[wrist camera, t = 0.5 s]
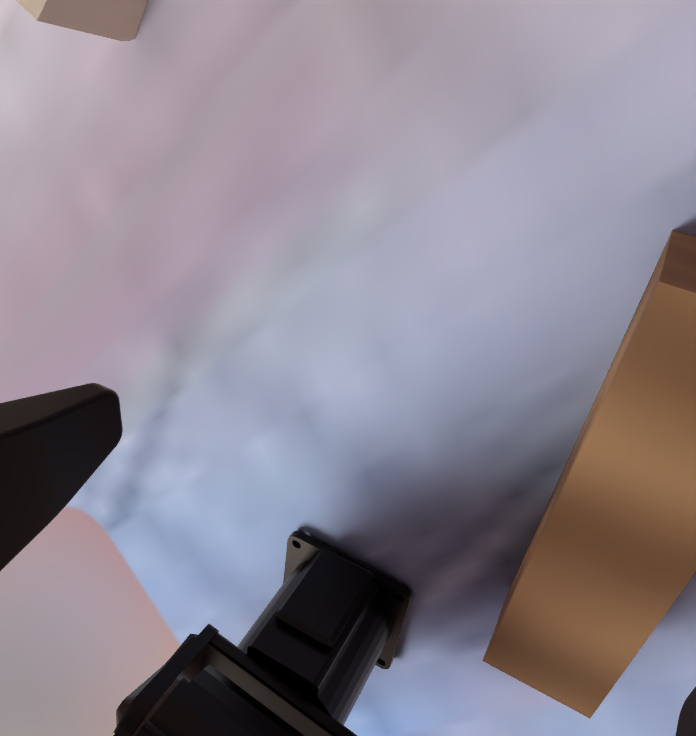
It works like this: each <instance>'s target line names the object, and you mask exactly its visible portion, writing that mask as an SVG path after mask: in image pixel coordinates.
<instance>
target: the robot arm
mask: <svg viewBox="0 0 696 736" xmlns="http://www.w3.org/2000/svg"><path fill="white" fill-rule="evenodd" d="M121 436H122V420H121V411H120V402H119V397H118V395H117V393H116V392H115V391H113V390H111V389H109V388H107V387H104V386H102V385H100V384H96V383H90V384H85V385H81V386H76V387H72V388H67V389H63V390H58V391H54V392H49V393H45V394H40V395H36V396H31V397H26V398H22V399H17V400H13V401H8V402H4V403H0V571H1V570H2V569H3V568H4V567H5V566H6V565H7V564H8V563H9V562H10V561H11V560H12V559H13V558H14V557H15V556H16V555H17V554H18V553H19V552H20V551H21V550H22V549H23V548H24V547H25V546H27V544H29V543H30V541H32V540H33V539H34V538H35V537H36V536H37V535H38V534H39V533H40V532H41V531H42V530H43V529H44V528H45V527H46V526H47V525H48V524H49V523H50V522H51V521H52V520H53V519H54V518H55V517H56V516H57V515H58V514H59V513H60V511H61V510H62V509H63V508H64V507H65V506H66V505H67V504H68V502H69V501H70V500H71V499H72V498H73V496H74V495H75V494H76V493H77V492H78V491H79V489H80V488H81V487H82V486H83V485H84V483H85V482H86V481H87V480H88V479H89V478H90V476H91V475H92V474H93V473H94V472H95V470H96V469H97V468H98V467H99V466H100V465H101V463H102V462H103V461H104V460H105V459H106V457H107V456H108V455H109V454H110V453H111V452H112V450H113V449H114V448H115V447H116V446H117V444H118V443H119V441H120V439H121ZM411 599H412V592H411V590H410V589H409V588H408V587H407V586H405V585H404V584H402V583H400V582H398V581H396V580H394V579H392V578H390V577H388V576H386V575H384V574H382V573H380V572H378V571H376V570H374V569H372V568H370V567H368V566H367V565H365V564H363V563H361V562H359V561H357V560H355V559H353V558H351V557H349V556H347V555H345V554H343V553H341V552H339V551H337V550H335V549H333V548H331V547H329V546H327V545H326V544H324V543H322V542H320V541H318V540H316V539H314V538H312V537H310V536H308V535H306V534H304V533H302V532H300V531H294V532H293V533H292V534H291V535H290V537H289V538H288V542H287V552H286V562H285V572H284V582H283V585H282V586H281V588H280V589H279V590H278V592H277V593H276V595H275V596H274V597H273V599H272V600H271V601H270V603H269V604H268V605H267V607H266V608H265V610H264V611H263V612H262V614H261V615H260V616H259V618H258V619H257V620H256V622H255V623H254V624H253V626H252V627H251V629H250V630H249V631H248V633H247V634H246V635H245V637H244V638H243V639H242V641H241V642H240V644H239V645H238V646H237V647H236V646H235V645H234V644H232V643H231V642H230V641H228V640H227V639H226V638H224V637H223V636H222V635H220V634H219V633H218V632H219V630H217V629H216V628H214V627H213V626H212V625H210V624H208V625H207V626H206V627H205V628H204V629H203V630H202V632H201V633H200V634H199V635H196V634H190V635H189V636H188V637H187V639H186V640H185V641H184V642H183V644H182V645H181V646H180V647H179V648H178V650H177V651H176V652H175V653H174V655H173V656H172V657H171V658H170V659H169V660H168V661H167V662H166V663H165V665H164V666H162V667H161V668H160V669H159V670H158V671H157V672H155V673H154V674H153V675H152V676H151V677H150V678H148V679H147V680H146V681H145V682H144V683H143V684H142V685H140V686H139V687H138V688H137V689H136V690H135V691H133V692H132V693H131V694H130V695H129V696H127V697H126V698H125V699H124V700H123V701H122V703H121V704H120V705H119V707H118V709H117V711H116V718H117V719H116V720H117V727H116V729H115V731H114V732H113V735H112V736H357V735H356V734H354V733H353V732H352V731H350V730H349V729H348V728H346V727H345V726H344V723H345V722H346V720H347V718H348V716H349V714H350V712H351V710H352V708H353V706H354V704H355V702H356V700H357V698H358V697H359V695H360V693H361V691H362V689H363V687H364V685H365V683H366V681H367V679H368V677H369V675H370V673H371V672H372V670H373V668H374V666H375V665H377V666H379V667H381V668H383V669H389V667H390V666H391V664H392V662H393V659H394V656H395V652H396V649H397V646H398V642H399V639H400V636H401V633H402V629H403V626H404V623H405V619H406V616H407V613H408V609H409V606H410V603H411ZM676 736H696V687H695V688H694V689H693V691H692V692H691V693H690V695H689V696H688V697H687V699H686V700H685V702H684V704H683V707H682V709H681V712H680V716H679V720H678V726H677V731H676Z"/></svg>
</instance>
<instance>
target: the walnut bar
mask: <svg viewBox="0 0 696 736" xmlns="http://www.w3.org/2000/svg"><path fill="white" fill-rule="evenodd" d="M695 572H696V237H695V236H691V235H688V234H684V233H681V232H677V231H674V230H672V232H671V234H670V237H669V239H668V241H667V243H666V245H665V248H664V250H663V252H662V254H661V256H660V259H659V261H658V263H657V265H656V267H655V270H654V272H653V274H652V276H651V278H650V281H649V283H648V285H647V287H646V289H645V292H644V294H643V296H642V298H641V300H640V303H639V305H638V307H637V309H636V311H635V314H634V316H633V318H632V320H631V323H630V325H629V327H628V329H627V331H626V334H625V336H624V338H623V340H622V342H621V345H620V347H619V349H618V351H617V353H616V356H615V358H614V360H613V362H612V364H611V367H610V369H609V371H608V373H607V375H606V378H605V380H604V382H603V384H602V386H601V389H600V391H599V393H598V395H597V397H596V400H595V402H594V404H593V406H592V408H591V411H590V413H589V415H588V417H587V419H586V422H585V424H584V426H583V428H582V430H581V433H580V435H579V437H578V439H577V441H576V444H575V446H574V448H573V450H572V452H571V455H570V457H569V459H568V461H567V463H566V466H565V468H564V470H563V472H562V474H561V477H560V479H559V481H558V483H557V485H556V488H555V490H554V492H553V494H552V496H551V499H550V501H549V503H548V505H547V507H546V510H545V512H544V514H543V516H542V518H541V521H540V523H539V525H538V527H537V529H536V532H535V534H534V536H533V538H532V540H531V543H530V545H529V547H528V549H527V551H526V554H525V556H524V558H523V560H522V562H521V565H520V567H519V569H518V571H517V573H516V576H515V578H514V580H513V582H512V584H511V587H510V589H509V592H508V594H507V597H506V600H505V603H504V605H503V608H502V611H501V613H500V616H499V619H498V621H497V624H496V627H495V629H494V632H493V635H492V637H491V640H490V643H489V645H488V648H487V651H486V653H485V656H484V659H483V661H484V662H486V663H488V664H490V665H491V666H493V667H495V668H497V669H499V670H501V671H503V672H504V673H506V674H508V675H510V676H512V677H514V678H516V679H517V680H519V681H521V682H523V683H525V684H527V685H529V686H530V687H532V688H534V689H536V690H538V691H540V692H542V693H544V694H545V695H547V696H549V697H551V698H553V699H555V700H557V701H558V702H560V703H562V704H564V705H566V706H568V707H570V708H571V709H573V710H575V711H577V712H579V713H581V714H583V715H584V716H586V717H588V718H591V716H592V715H593V714H594V712H595V711H596V709H597V708H598V707H599V705H600V704H601V703H602V701H603V700H604V698H605V697H606V696H607V694H608V693H609V691H610V690H611V689H612V687H613V686H614V684H615V683H616V682H617V680H618V679H619V678H620V676H621V675H622V673H623V672H624V671H625V669H626V668H627V666H628V665H629V664H630V662H631V661H632V660H633V658H634V657H635V655H636V654H637V653H638V651H639V650H640V648H641V647H642V646H643V644H644V643H645V641H646V640H647V639H648V637H649V636H650V635H651V633H652V632H653V630H654V629H655V628H656V626H657V625H658V623H659V622H660V621H661V619H662V618H663V617H664V615H665V614H666V612H667V611H668V610H669V608H670V607H671V605H672V604H673V603H674V601H675V600H676V598H677V597H678V596H679V594H680V593H681V592H682V590H683V589H684V587H685V586H686V585H687V583H688V582H689V580H690V579H691V578H692V576H693V575H694V574H695Z"/></svg>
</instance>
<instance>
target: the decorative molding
mask: <svg viewBox="0 0 696 736" xmlns="http://www.w3.org/2000/svg"><path fill="white" fill-rule="evenodd" d="M16 1H17V2H18V3H19V4H20V5H22V6H23V7H24V8H25V9H26V10H27V11H28V12H29V13H30V14H31V15H32V16H33V17H34V18H35V19H36V20H37V21H41V22H45V23H49V24H53V25H57V26H62V27H66V28H70V29H74V30H78V31H82V32H86V33H91V34H95V35H99V36H103V37H107V38H111V39H115V40H120V41H130V40H133V39H135V37H136V34H137V31H138V28H139V25H140V22H141V19H142V16H143V13H144V10H145V7H146V4H147V2H148V0H16Z"/></svg>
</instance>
